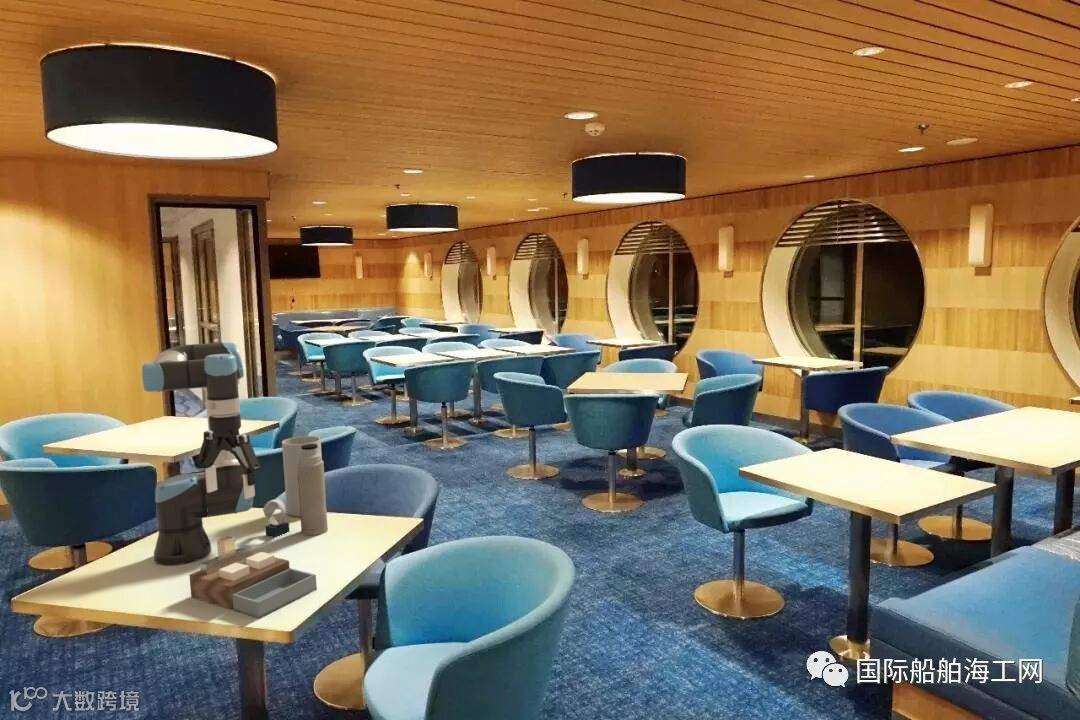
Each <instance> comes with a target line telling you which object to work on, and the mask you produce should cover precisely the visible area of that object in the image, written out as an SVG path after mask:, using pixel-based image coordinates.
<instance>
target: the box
mask: <svg viewBox="0 0 1080 720" xmlns="http://www.w3.org/2000/svg"><path fill="white" fill-rule="evenodd" d="M317 590H318V589H317V575H316V574H315V573H311V572H307V571H303V570H298V569H296V568H292V567H290V569H287V570H285V571H283V572H281V573H279V574H276V575H274V576H272V577H270V578H268V579H266V580H263V581H261V582H259V583H257V584H255V585H252V586H250V587H248V588H246V589H244V590H241V591H239V592H237V593H235V594H233V595H232V599H233V610H232V611H234V612H238V613H241V614H243V615H247V616H250V617H254V618H257V619H260V620H261V617H262V618H263V616H264V617H266V616H267V615H269V614H272V613H273V612H275V611H277V610H279V609H281V608H283V607H286V606H287V605H290V604H291V603H292V602H295V601H297V600H299V599H301V598H303V597H305V596H306V595H308V594H309V595H310V594H311V593H313V592H314V591H317Z"/></svg>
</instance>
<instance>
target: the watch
mask: <svg viewBox="0 0 1080 720" xmlns="http://www.w3.org/2000/svg"><path fill="white" fill-rule="evenodd" d="M278 508H279V509H280V515H279V518H278V519H279V520H278V521H277V520H276V519H275V517H274V516H273V514H274V513H275V511H276V510H277V509H278ZM262 511H263V513H264V517H265V518H266V520H267V521H268V523H269V524H267V525H265V526H264V528H265V536H266V535H267V536H266V537H269V536H272V537H271V538H274V537H276V538H278V537H277V536H279V537H281V536H283V535H282V534H284V535H286V534H285V533H287V532H289V533H290V523H289V522H288V521H287V522H286V520H287V518H288V513H287V507H286V504H285V502H284V501H283V500H281V499H279V498H276V499H271V500H269V501H267V502H266V503H265V505H264V506H263V508H262ZM287 534H288V533H287ZM280 535H281V536H280Z"/></svg>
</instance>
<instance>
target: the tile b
mask: <svg viewBox="0 0 1080 720" xmlns="http://www.w3.org/2000/svg"><path fill="white" fill-rule="evenodd" d="M257 553H258V554H255V555H253V556H250V557H248V558H246V565H247V566H249V567H253V568H256V569H261V568H263V567H266V566H268V565H270V564H272V563H275V557H276V556H275V554H271V553H268V552H263V551H260V552H257Z"/></svg>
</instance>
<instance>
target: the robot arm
mask: <svg viewBox="0 0 1080 720" xmlns="http://www.w3.org/2000/svg"><path fill="white" fill-rule="evenodd" d="M141 373H142V374H141V377H142V384H143V385H142V386H143V390H144V391H145V392H149V393H151V392H152V393H153V392H154V393H156V392H157V393H159V392H165V391H177V390H178V391H179V390H185V389H187V390H189V389H190V390H191V389H202V390H203V391H205V393H204V394H205V401H206V416H207V428H208V430H207V431H206V430H205V431H204V432H203V440H202V443H201V447H200V451H199V454H198V458H197V461H196V463H197V465H199V466H200V465H201V466H202V468H203V472H204V473H203V474H204V477H200V476H199V474H198V473H195V472H192V473H183V474H177V475H175V476H172V477H169V478H166V479H164V480H161V482H159V483H158V484H157V485H156V487H155V489H154V490H155V491H154V493H155V499H154V502H155V504H156V516H157V527H158V528H157V529H158V534H157V535H158V537H157V539H156V544H155V548H154V550H153V559H154V562H155V563H156V564H158V565H165V566H173V565H175V566H176V565H183V564H188V563H191V562H195V561H199V560H201V559H203V558H205V557H208V555H210V554H211V552H212V543H211V541H210V539H209V536H208V534H207V532H206V530H205V528H204V526H203V525H204V524H203V518H204V519H205V518H211V517H218V516H219V517H220V516H225V515H232V514H235V515H236V514H238V513H244V512H247V511H249V510H251V509H252V508H253V503H254V497H256V496H255V495H256V491H255V485H256V475H255V474H256V472H257V471H260V470H261V469H262V466H261V464H260V462H259V460H258V457H257V455H256V452H255V450H254V448H253V446H252V444H251V439H250V435H249V433H244V434H240V429H241V428H242V420H241V418H242V417H241V414H240V411H241V406H240V397H239V396H240V394H239V385H240V379H242V378H244V367H243V361H242V357H241V353H240V349H239V347H238V346H237V344H236V343H234V342H222V341H219V342H211V343H196V344H181V345H177V346H174V347H171V348H168V349H167V348H166V349H165V350H163V351H161V352H160V353H158V354H157V355H156V356H155V358H154V360H153V362H148V363H144V364H143V365H142V366H141Z"/></svg>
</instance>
